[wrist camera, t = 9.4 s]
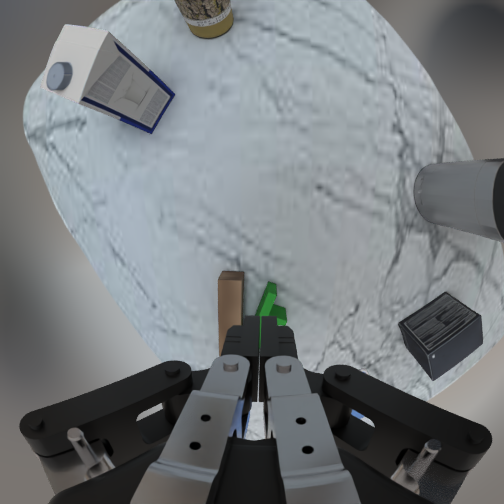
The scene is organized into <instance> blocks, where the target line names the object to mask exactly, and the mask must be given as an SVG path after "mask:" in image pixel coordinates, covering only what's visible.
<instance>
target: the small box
mask: <svg viewBox="0 0 504 504" xmlns="http://www.w3.org/2000/svg"><path fill="white" fill-rule="evenodd" d="M399 327H400V329H401V332H402V335H403V339H404V343H405V345H406V348H407V349H408V350H409V351H410V353H411V354H412V355H413V356H414V358H415V359H416V360H417V361H418V363H419V364H420V365H421V367H422V368H423V369H424V370H425V372H426V373H427V374H428V375H429V377H430V378H431V379H432V381H434V380H436V379H437V378H439V377H440V376H442V375H443V374H444V373H446V372H447V371H449V370H450V369H451V368H453V367H454V366H455V365H457V364H458V363H459V362H461V361H462V360H463V359H465V358H466V357H467V356H468V355H470V354H471V353H472V352H473V351H475V350H476V349H477V348H478V347H479V346H481V345H482V344H483V332H482V319H481V315H480V314H478V313H476V312H475V311H473V310H471V309H470V308H469V307H467V306H466V305H464V304H463V303H461V302H460V301H459V300H457V299H456V298H454V297H452V296H451V295H450V294H448V293H447V292H444V293H443V294H442V295H440V296H439V297H437V298H436V299H435V300H433V301H432V302H430V303H429V304H427V305H426V306H424V307H423V308H421V309H420V310H418V311H417V312H415V313H414V314H412V315H411V316H409V317H407V318H406V319H404V320H403V321H401V322H400V323H399Z"/></svg>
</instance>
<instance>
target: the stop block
mask: <svg viewBox="0 0 504 504" xmlns="http://www.w3.org/2000/svg"><path fill="white" fill-rule="evenodd" d="M243 295H244V272H236V271H222V273H221V275H220V277H219V279H218V322H219V357H220V356H221V352H222V349H223V345H224V342H225V338H226V334H227V330H228V329H229V328H231V327H232V326H233V325H243Z"/></svg>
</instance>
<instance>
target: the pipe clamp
mask: <svg viewBox="0 0 504 504" xmlns="http://www.w3.org/2000/svg"><path fill="white" fill-rule="evenodd" d="M276 296H277V291H276V284H274V283H271V282H268V284H267V286H266V289H265V291H264V294H263V296H262V299H261V302H260V304H259V307H258V309H257V312H256V314H255V316H260V340H261V316H277V325H283V326H285V325H286V323H287V317H286V310H285V308H284V307H281V306H278V305H275V304H273V303H274V301H275V298H276Z"/></svg>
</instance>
